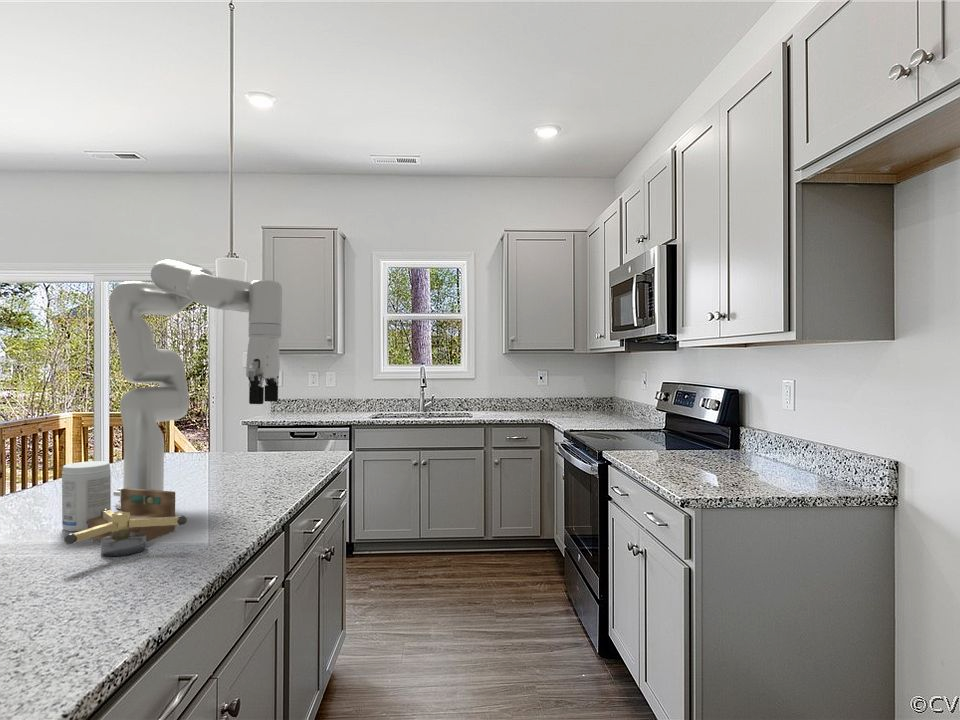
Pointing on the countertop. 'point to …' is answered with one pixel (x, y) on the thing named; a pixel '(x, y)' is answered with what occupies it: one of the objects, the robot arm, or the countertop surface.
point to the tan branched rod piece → (122, 532)
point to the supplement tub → (84, 493)
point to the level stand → (143, 511)
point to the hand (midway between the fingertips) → (264, 402)
